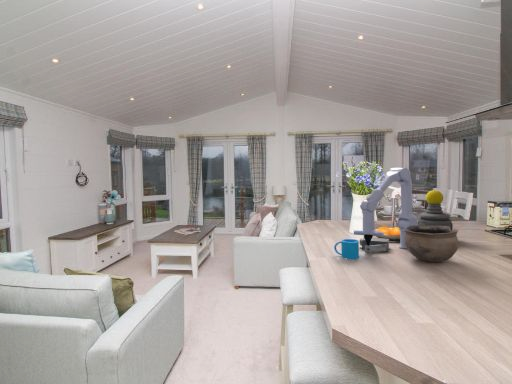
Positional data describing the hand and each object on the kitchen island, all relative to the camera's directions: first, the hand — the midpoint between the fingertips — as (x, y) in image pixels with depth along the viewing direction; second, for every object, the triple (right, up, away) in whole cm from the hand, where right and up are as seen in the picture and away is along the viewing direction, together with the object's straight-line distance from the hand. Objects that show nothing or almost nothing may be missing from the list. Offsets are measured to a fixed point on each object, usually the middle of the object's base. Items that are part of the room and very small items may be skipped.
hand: (368, 249), depth 164 cm
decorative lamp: (+48, +1, +23) cm, 53 cm away
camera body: (+6, -1, +7) cm, 10 cm away
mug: (-14, -3, -7) cm, 16 cm away
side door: (+4, -1, -1) cm, 4 cm away
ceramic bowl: (+22, -2, -18) cm, 29 cm away
